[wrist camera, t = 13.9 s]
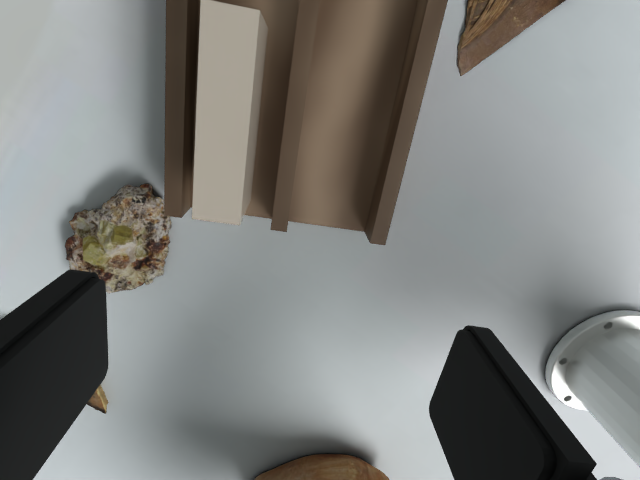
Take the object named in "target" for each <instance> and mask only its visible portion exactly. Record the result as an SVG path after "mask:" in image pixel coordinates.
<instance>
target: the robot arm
mask: <svg viewBox="0 0 640 480" xmlns="http://www.w3.org/2000/svg"><path fill="white" fill-rule="evenodd" d="M107 370H108V340H107V309H106V284H105V281H104V280H102V279H99V276H98V274H97V273H94V272H87V271H80V270H72V269H70V270H68V271H66V272H65V273H64V274H62V275H61V276H60V277H58V278H57V279H55V280H54V281H53V282H51V283H50V284H49V285H47V286H46V287H45V288H43V289H42V290H40V291H39V292H38V293H36V294H35V295H34V296H32V297H31V298H30V299H28V300H27V301H26V302H24V303H23V304H21V305H20V306H19V307H17V308H16V309H15V310H13V311H12V312H11V313H9V314H8V315H6V316H5V317H4V318H2V319H1V320H0V480H33V478H34V477H35V476H36V474H37V473H38V471H39V470H40V469H41V467H42V466H43V464H44V463H45V462H46V460H47V459H48V457H49V456H50V455H51V453H52V452H53V450H54V449H55V447H56V446H57V445H58V443H59V442H60V440H61V439H62V438H63V436H64V435H65V433H66V432H67V431H68V429H69V428H70V426H71V425H72V424H73V422H74V421H75V419H76V418H77V417H78V415H79V414H80V412H81V411H82V409H83V408H84V407H85V405H86V404H87V402H88V401H89V400H90V398H91V397H92V395H93V394H94V393H95V391H96V390H97V388H98V387H99V386H100V384H101V383H102V381H103V380H104V378H105V376H106V373H107ZM545 376H546V382H547V385H548V387H549V389H550V390H551V391H552V393H553V394H554V395H555V396H556V398H557V399H558V400H559V401H560V402H562V403H563V404H565V405H567V406H569V407H571V408H575V409H579V410H588V411H589V412H590V413H591V414H592V416H593V417H594V418H595V419H596V420H597V421H598V422H599V423H600V424H601V426H602V427H603V428H604V429H605V430H606V431H607V432H608V433H609V434H610V435H611V437H612V438H613V439H614V440H615V441H616V442H617V443H618V444H619V445H620V446H621V448H622V449H623V450H624V451H625V452H626V453H627V454H628V455H629V456H630V457H631V459H632V460H633V461H634V462H635V463H636V464H637V465H638V466H639V467H640V312H638V311H631V310H619V311H612V312H607V313H603V314H600V315H597V316H595V317H592V318H590V319H588V320H586V321H584V322H582V323H580V324H579V325H577V326H576V327H574V328H573V329H572V330H570V331H569V332H568V333H567V334H566V335H565V336H564V337H563V338H562V339H561V340H560V341H559V342H558V344H557V345H556V346H555V347H554V349H553V351H552V353H551V354H550V356H549V359H548V362H547V365H546V373H545ZM429 413H430V418H431V420H432V423H433V426H434V428H435V431H436V433H437V436H438V438H439V441H440V444H441V446H442V449H443V451H444V454H445V456H446V459H447V462H448V464H449V467H450V469H451V472H452V475H453V477H454V480H597V479H596V478H595V477H594V475H593V474H592V473H591V472H592V471H593V469H594V467H595V466H596V462H595V461H594V460H593V459H592V457H591V456H590V455H589V454H588V452H587V451H586V450H585V448H584V447H583V446H582V445H581V443H580V442H579V441H578V440H577V438H576V437H575V436H574V435H573V433H572V432H571V431H570V430H569V428H568V427H567V426H566V424H565V423H564V422H563V421H562V419H561V418H560V417H559V416H558V414H557V413H556V412H555V411H554V409H553V408H552V407H551V405H550V404H549V403H548V402H547V400H546V399H545V398H544V397H543V395H542V394H541V393H540V392H539V390H538V389H537V388H536V386H535V385H534V384H533V383H532V381H531V380H530V379H529V378H528V376H527V375H526V374H525V373H524V371H523V370H522V369H521V368H520V366H519V365H518V364H517V362H516V361H515V360H514V359H513V357H512V356H511V355H510V354H509V352H508V351H507V350H506V349H505V347H504V346H503V345H502V343H501V342H500V341H499V340H498V338H497V337H496V336H495V335H494V333H493V332H492V331H491V330H490V329H488V328H483V327H476V326H469V325H468V326H466V327H465V328H464V329H463V330H459V331H458V332H457V334H456V337H455V339H454V342H453V344H452V347H451V349H450V352H449V355H448V357H447V360H446V362H445V365H444V368H443V370H442V373H441V375H440V378H439V381H438V383H437V386H436V388H435V391H434V394H433V396H432V399H431V401H430V405H429ZM600 480H622V479H619V478H616V477H604V478H602V479H600Z"/></svg>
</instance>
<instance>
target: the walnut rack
mask: <svg viewBox="0 0 640 480" xmlns="http://www.w3.org/2000/svg"><path fill="white" fill-rule="evenodd" d="M212 1H217V2H222V3H227V4H232V5H237V6H242V7H246V8H251V9H256V10H260V12H261V14H262V16H263V18H264V20H265V22H266V25H267V27H268V36H267V46H266V55H265V65H264V75H263V85H262V95H261V105H260V115H259V124H258V134H257V144H256V154H255V164H254V174H253V183H252V193H251V200H250V203H249V205H248V207H247V210H246V212H245V215H249V216H256V217H263V218H270V219H272V223H271V230H276V231H283V232H287V226H288V221H292V222H299V223H306V224H314V225H321V226H328V227H335V228H342V229H350V230H357V231H364V232H365V234H366V236H367V238H368V240H369V242H370V243H372V244H379V245H385V244H386V240H387V236H388V232H389V228H390V224H391V220H392V216H393V212H394V208H395V205H396V201H397V197H398V193H399V189H400V185H401V181H402V177H403V173H404V169H405V165H406V162H407V158H408V154H409V150H410V146H411V142H412V138H413V134H414V130H415V126H416V123H417V119H418V115H419V111H420V107H421V103H422V99H423V95H424V91H425V87H426V84H427V80H428V76H429V72H430V68H431V64H432V60H433V56H434V52H435V48H436V45H437V41H438V37H439V33H440V29H441V25H442V21H443V17H444V13H445V9H446V5H447V2H448V0H212ZM200 3H201V0H166V82H165V189H164V215H165V216H172V217H180V218H182V216H183V215H184V214H185V213H186V212H187V211H188V210H189V209H190V207H191V208H192V204H193V179H194V154H195V129H196V103H197V78H198V53H199V28H200Z"/></svg>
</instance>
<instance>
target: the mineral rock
mask: <svg viewBox="0 0 640 480" xmlns="http://www.w3.org/2000/svg"><path fill="white" fill-rule="evenodd" d="M163 202H164V200H163V199H162V198H161V197H155V196H154V195H153V189H152V186H150V185H149V184H143V185H141V186H140V187H133V186H132V185H126V186H123V187H122V188H120V189H119V190H118V192H117V194H115V196H113V197H111V199H110V200H108V201H107V203H104V204H103V205H102V209H92V210H91V211H87V210H83V211H82V212H77V213H75V215H74V217H73V219H72V220H71V221H69V223H70V225H71V227H72V229H73V231H74V234H75V235H73V236H71V237H70V238H68V239H67V240H66V243H65V247H66V252H67V258H66V259H67V260H69V265H70V266H69V267H70V269H72V270H80V271H87V272H94V273H97V274H98V276H99V279H102V280H104V281H105V284H106V292H108V293H113V292H117V291H122V290H132V289H133V288H134V289H135V288H136V287H138V286H141V285H143V284H144V283H145V284H146V285H148V284H150V283H152V282H153V279H154V278H155V277H158V276H161V275H163V273H164V270H163V268H164V265H165V261H164V260H165V258H166V257H167V253H168V248H169V247H168V244H169V243H170V240H169V236H168V233H169V230H170V229H171V227H172V226H171V221H170V216H165V215H164V204H163Z"/></svg>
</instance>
